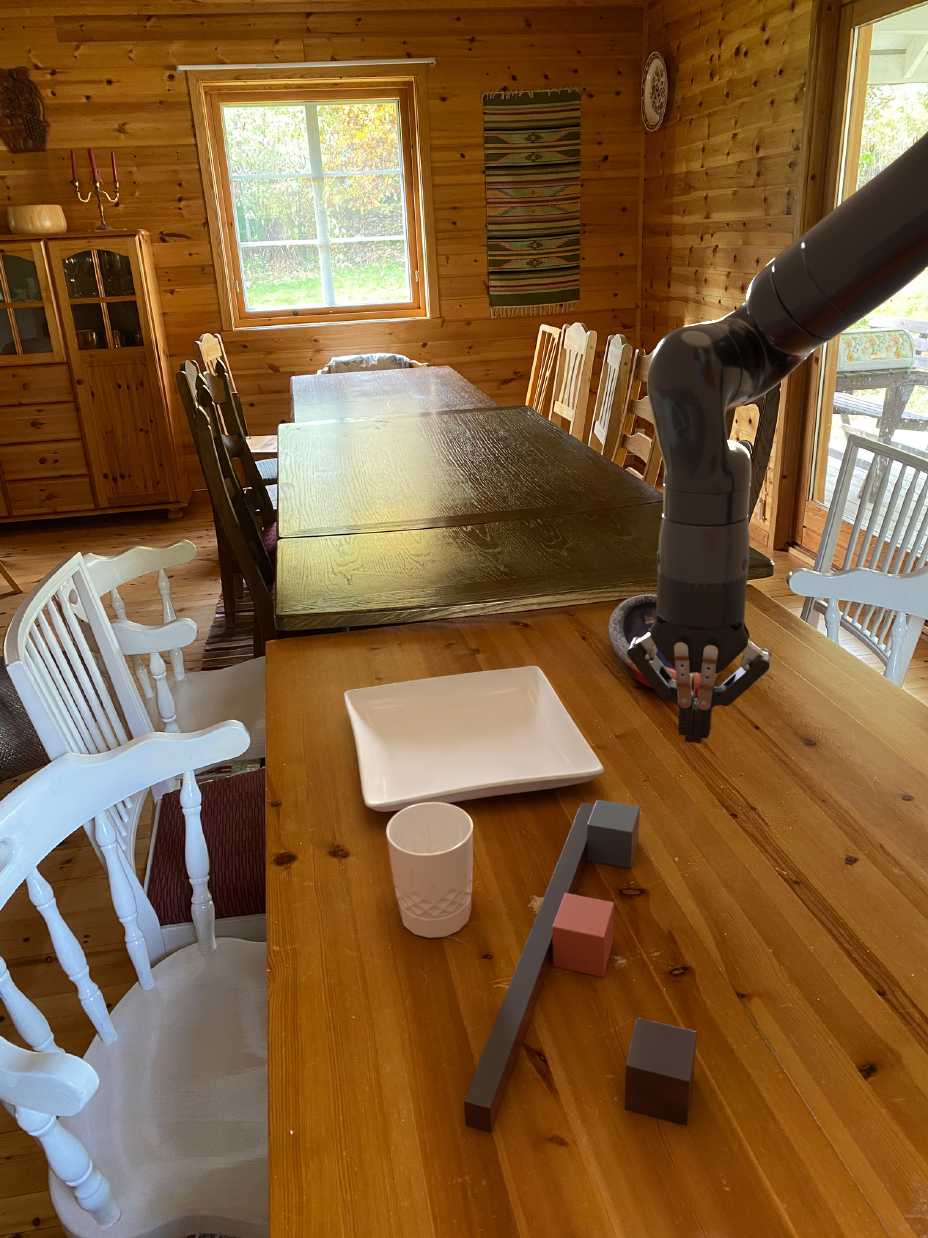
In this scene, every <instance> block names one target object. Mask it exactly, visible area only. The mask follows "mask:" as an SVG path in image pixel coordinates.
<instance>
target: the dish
mask: <svg viewBox="0 0 928 1238" xmlns="http://www.w3.org/2000/svg"><path fill="white" fill-rule="evenodd" d="M656 610H657V594H648V593H647V594H639V595H635V596H631V597H629V598H627V599H625V600H623V601H622V602H620V604H618V605H617V606H616V607H615V608H614V610H613V612H612V613H611V615H610V618H609V622H608V634H609V639H610V641H611V644H612V646H613V649H614V651H615V654H616V656H617V658H618V659H619V661H620V663H621V664H622V666H623V667H624V669H625V670H626V671H627V672H628V674H629V675H630V676H631V677H633V678H634V679H635V680H636V681H638V682H639V683H641V684H642V685H644V686H647V687H649V688H652V689H653V687H652V686H651V685H650V684H649V682H648V681H647V680H646V679H645V677H644V676H643V675H642V673H641V672H640V671H639V670H638V668H637V667H636V666H635V665H634V663H633V662H632V661H631V659H630V658H629V657H628V655H627V651H628V649H629V646H630V644H631V642H632V640H633V639H634V638H635V637H643V636H645V635H646V634H648V633H650V629H651V627H652V624H653V622H654V621H655V619H656ZM655 646H656V645H655ZM656 648H657V653H656V656H657V657H658V658H659V660H660V661H661V662H662V664H663V665H664V666H665V667H666V669H667V670H668V671H669V673H670V674H671V675H672V676H673V678H674V679H675V681H676V669H675V668H673V667H672V666H671V665H670V664H669V663H668V661H667V660H666V658H665V657H664V656H663V654H662V653H661V651H660V650H659V649H658V647H657V646H656ZM721 673H722V672H720V673H717V674H716V680H717V679H718V677H719V676H720V674H721ZM700 676H701V674H700V673H697V672H695V673H694V679H695V697H698V693H699V683H700Z"/></svg>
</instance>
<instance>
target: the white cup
mask: <svg viewBox="0 0 928 1238" xmlns="http://www.w3.org/2000/svg"><path fill="white" fill-rule="evenodd" d="M385 829H386V830H385V834H386V841H387V848H388V854H389V863H390V869H391V874H392V879H393V885H394V890H395V896H396V899H397V902H398V910H399V915H400V919H401V922H402V925H403V927H404V928H406V929H407V930H408V931H409V932H411V933H412V934H414V935H416V936H418V937H424V938H428V939H433V938H435V939H437V938H445V937H448V936H451V935H452V934H455V933H457V932H459V931H460V930H461V929H463V927H464V926H465V925H466V924H467V923H468V922H469V920H470V916H471V913H472V912H471V911H472V894H473V871H474V870H473V869H474V824H473V820H472V818H471V816H470V815H469V814H468V813H467V812H466V811H465V810H464V809H462V808H461V807H458V806H456V805H454V804H451V803H440V802H428V803H420V804H416V805H413V806H410V807H407V808H405V809H403V810H399V811H398V812H397V813H395V814H394V815H393V816H392V817H391V819H390V820H389V821H388V822H387V826H386V828H385Z"/></svg>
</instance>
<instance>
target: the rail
mask: <svg viewBox="0 0 928 1238" xmlns="http://www.w3.org/2000/svg"><path fill="white" fill-rule="evenodd" d="M594 805H595V803H592V802H591V803H590V802H585V801H584V802H583V801H581V802H580V805H579V808H578V810H577V812H576V815H575V817H574V820H573V823H572V825H571V828H570V829H569V833H568V835H567V838H566V840H565V843H564V845H563V848H562V850H561V853H560V855H559V859H558V861H557V863H556V866H555V868H554V871H553V873H552V876H551V878H550V881H549V883H548V886H547V889H546V891H545V893H544V896H543V898H542V902H541V904H540V907H539V908H538V911H537V914H536V917H535V919H534V922H533V925H532V927H531V929H530V931H529V934H528V937H527V940H526V942H525V945H524V947H523V950H522V952H521V954H520V958H519V960H518V962H517V965H516V968H515V970H514V972H513V975H512V978H511V981H510V982H509V985H508V988H507V990H506V992H505V995H504V998H503V1000H502V1003H501V1005H500V1008H499V1011H498V1013H497V1015H496V1018H495V1021H494V1023H493V1026H492V1027H491V1028H492V1029H491V1031H490V1033H489V1035H488V1039H487V1041H486V1044H485V1046H484V1049H483V1051H482V1054H481V1056H480V1059H479V1061H478V1064H477V1066H476V1069H475V1071H474V1074H473V1076H472V1079H471V1081H470V1084H469V1087H468V1089H467V1092H466V1094H465V1097H464V1100H463V1108H464V1122H465V1123H464V1124H465V1126H468V1127H472V1128H476V1129H479V1130H482V1131H486V1132H489V1133H492V1131H493V1129H494V1126H495V1122H496V1120H497V1117H498V1114H499V1111H500V1108H501V1105H502V1103H503V1100H504V1097H505V1094H506V1091H507V1089H508V1085H509V1083H510V1079H511V1077H512V1074H513V1071H514V1069H515V1065H516V1063H517V1060H518V1057H519V1055H520V1052H521V1048H522V1046H523V1044H524V1040H525V1037H526V1034H527V1031H528V1029H529V1026H530V1023H531V1020H532V1018H533V1014H534V1012H535V1008H536V1007H537V1006H536V1005H537V1003H538V1000H539V997H540V995H541V992H542V988H543V986H544V983H545V980H546V978H547V974H548V972H549V969H550V966H551V963H552V961H553V924H554V921H555V919H556V916H557V913H558V910H559V908H560V905H561V902H562V900H563V897H564V894H565V893H568V894H573V895H576V892H577V889H578V886H579V883H580V881H581V877H582V875H583V872H584V870H585V866H586V864H587V862H588V861H587V824H588V821H589V819H590V816H591V813H592V811H593V808H594Z"/></svg>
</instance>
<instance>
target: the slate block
mask: <svg viewBox="0 0 928 1238" xmlns="http://www.w3.org/2000/svg"><path fill="white" fill-rule="evenodd" d="M594 804H595V805H594V808H593V811H592V813H591V816H590V819H589V821H588V824H587V861H586V862H593V863H598V864H603V865H608V866H614V867H619V868H623V869H629V870H630V869H632V866H633V863H634V859H635V855H636V852H637V848H638V844H639V834H640V813H641V811H640V810H641V808H640V806H638V805H632V804H626V803H621V802H615V801H608V800H602V799H596V800H595V803H594Z"/></svg>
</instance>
